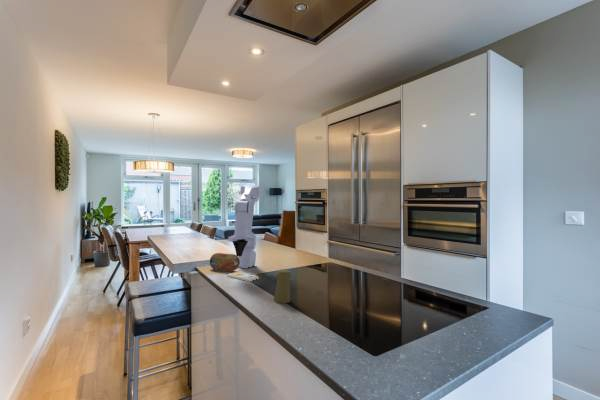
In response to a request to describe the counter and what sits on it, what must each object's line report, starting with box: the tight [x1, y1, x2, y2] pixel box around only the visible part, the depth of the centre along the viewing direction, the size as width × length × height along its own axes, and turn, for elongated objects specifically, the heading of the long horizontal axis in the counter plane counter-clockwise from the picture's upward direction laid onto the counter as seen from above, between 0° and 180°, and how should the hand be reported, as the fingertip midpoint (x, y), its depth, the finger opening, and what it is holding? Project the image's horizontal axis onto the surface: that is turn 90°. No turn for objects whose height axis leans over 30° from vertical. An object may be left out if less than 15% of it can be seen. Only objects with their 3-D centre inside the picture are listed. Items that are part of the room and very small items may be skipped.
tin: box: [209, 252, 240, 272], centre depth 149 cm, size 15×3×8 cm, turn 79°
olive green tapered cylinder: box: [273, 268, 292, 304], centre depth 108 cm, size 6×6×11 cm
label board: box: [226, 271, 260, 283], centre depth 137 cm, size 6×13×1 cm, turn 61°
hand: (239, 256), depth 138 cm, fingers closed
